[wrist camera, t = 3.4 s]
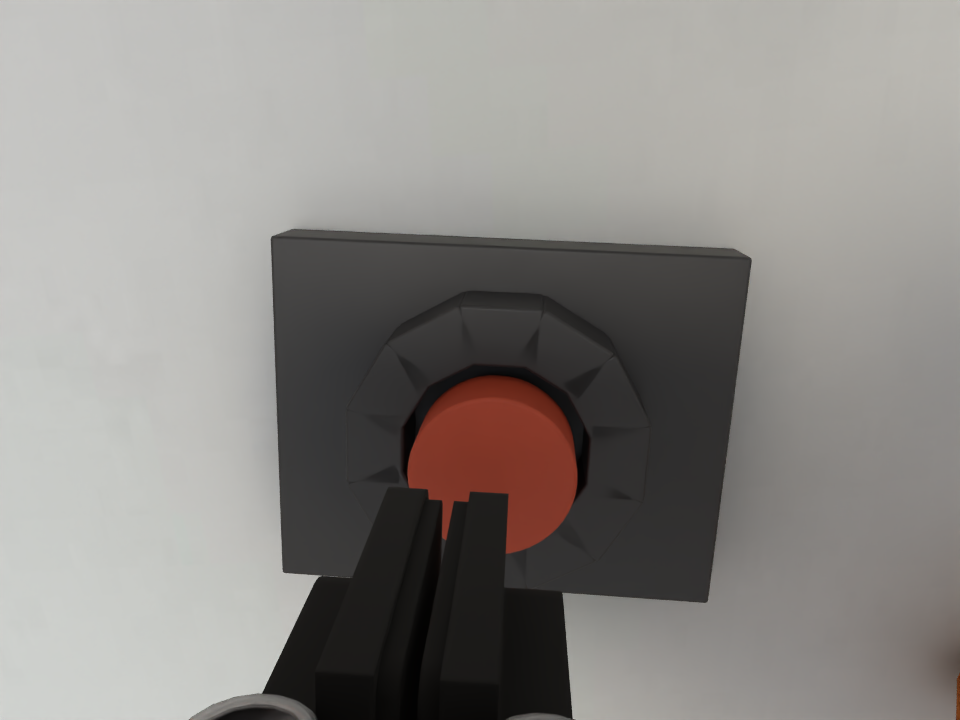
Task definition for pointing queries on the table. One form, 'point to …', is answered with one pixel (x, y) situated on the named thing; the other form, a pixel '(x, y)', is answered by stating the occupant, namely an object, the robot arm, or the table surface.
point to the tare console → (520, 354)
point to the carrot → (958, 699)
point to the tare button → (498, 454)
